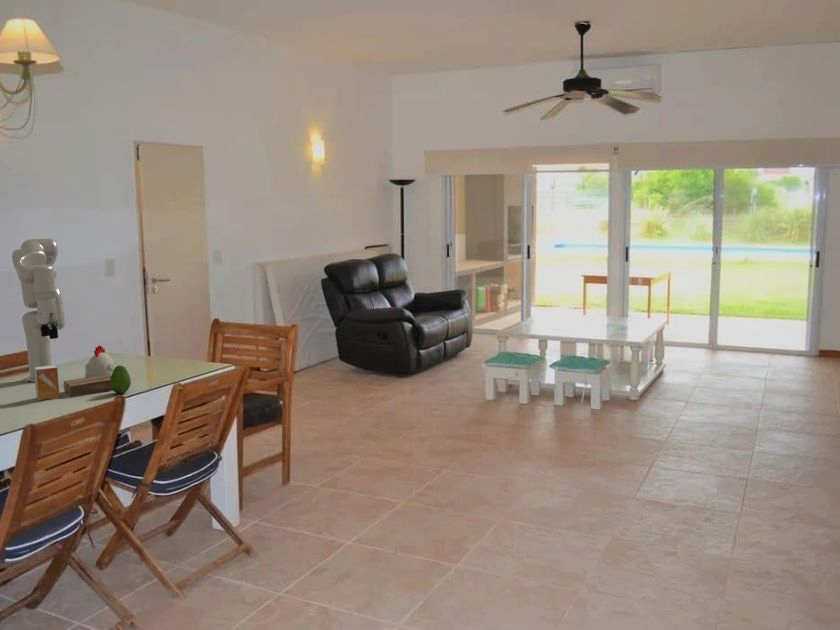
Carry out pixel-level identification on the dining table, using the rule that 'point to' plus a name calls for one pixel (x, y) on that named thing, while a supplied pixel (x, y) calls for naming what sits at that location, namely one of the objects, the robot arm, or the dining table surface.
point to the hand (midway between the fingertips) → (49, 337)
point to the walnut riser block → (87, 385)
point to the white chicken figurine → (99, 364)
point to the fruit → (120, 380)
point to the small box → (46, 382)
